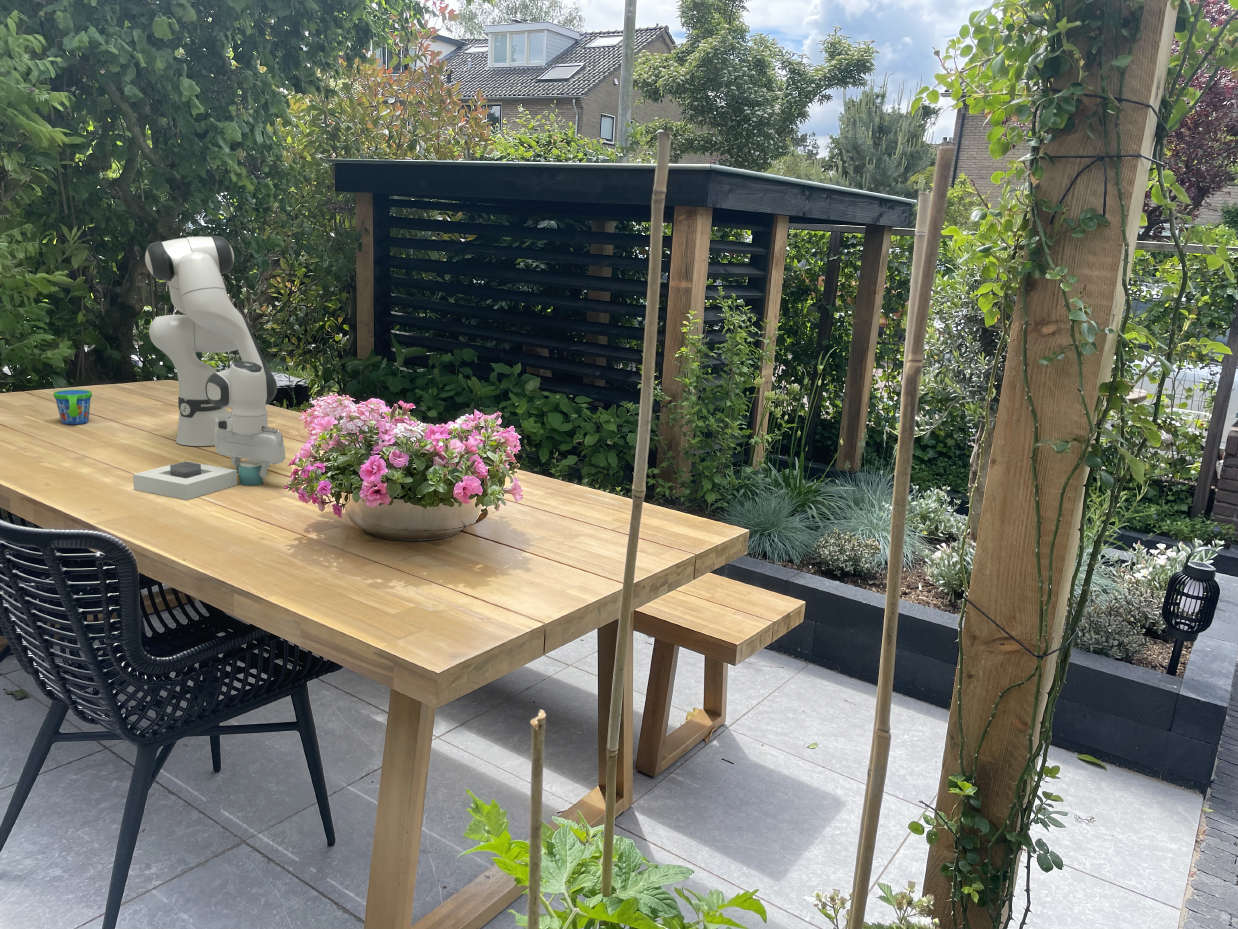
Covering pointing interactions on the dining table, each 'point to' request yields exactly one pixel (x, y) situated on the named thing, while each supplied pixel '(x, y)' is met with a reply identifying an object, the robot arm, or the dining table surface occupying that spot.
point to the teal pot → (249, 473)
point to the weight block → (185, 469)
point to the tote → (185, 482)
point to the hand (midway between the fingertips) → (251, 475)
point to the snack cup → (73, 405)
